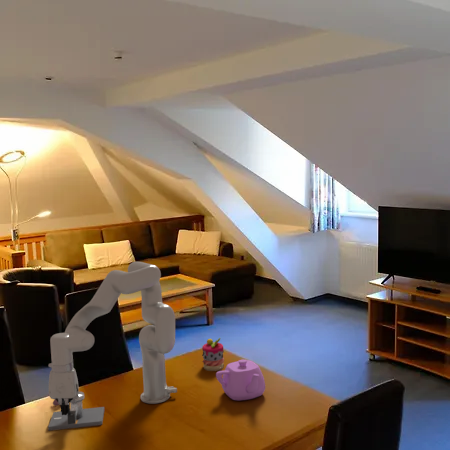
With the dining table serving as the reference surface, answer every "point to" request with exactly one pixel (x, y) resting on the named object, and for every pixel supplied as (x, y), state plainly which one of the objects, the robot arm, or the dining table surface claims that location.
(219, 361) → the cake
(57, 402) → the video game controller
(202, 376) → the dining table surface
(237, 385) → the teapot
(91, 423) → the base plate
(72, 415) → the lever
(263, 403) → the dining table surface
